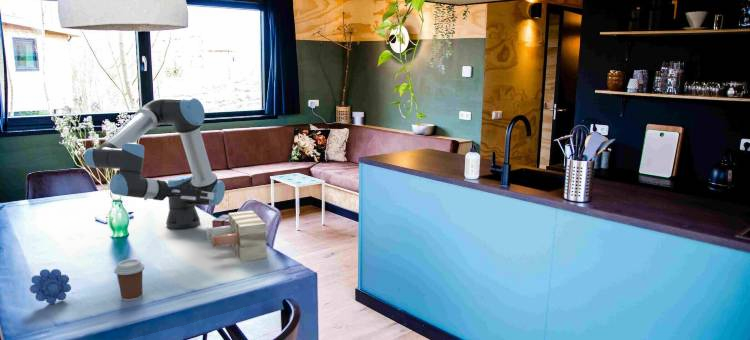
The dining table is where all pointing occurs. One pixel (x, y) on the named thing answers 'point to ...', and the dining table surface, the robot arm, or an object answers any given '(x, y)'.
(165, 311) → the dining table surface
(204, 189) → the robot arm
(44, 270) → the blue lumpy lobed piece
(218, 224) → the puzzle cube
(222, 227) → the white plug
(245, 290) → the dining table surface
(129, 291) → the coffee cup
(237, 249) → the socket block
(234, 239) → the terracotta plug
